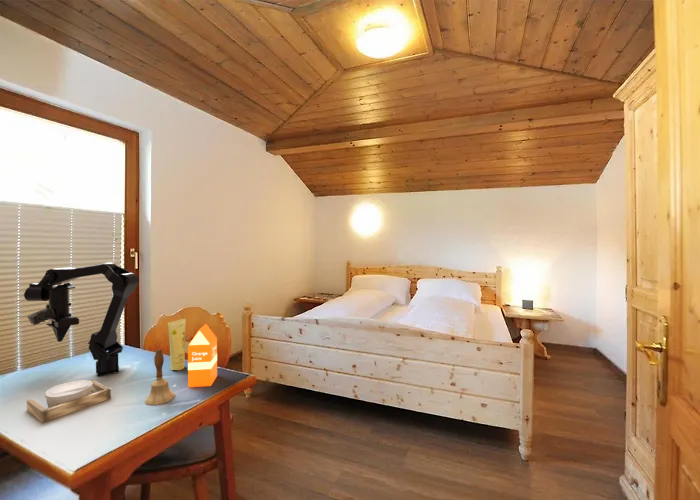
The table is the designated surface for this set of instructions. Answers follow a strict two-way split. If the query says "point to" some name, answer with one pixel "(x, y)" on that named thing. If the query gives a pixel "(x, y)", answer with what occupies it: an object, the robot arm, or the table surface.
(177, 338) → the tube
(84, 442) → the table surface
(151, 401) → the hand bell
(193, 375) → the orange juice
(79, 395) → the ramekin
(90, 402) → the cradle
